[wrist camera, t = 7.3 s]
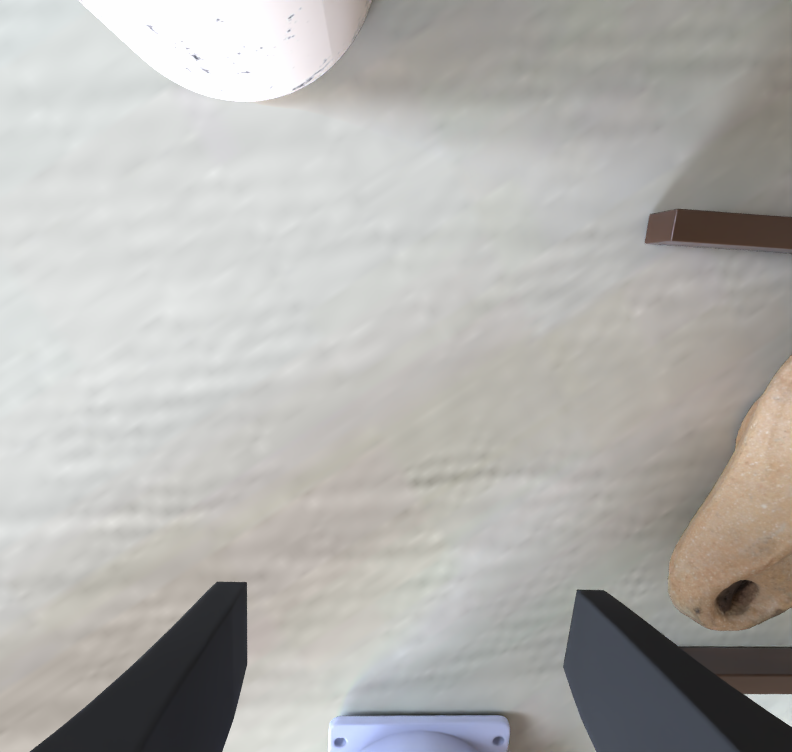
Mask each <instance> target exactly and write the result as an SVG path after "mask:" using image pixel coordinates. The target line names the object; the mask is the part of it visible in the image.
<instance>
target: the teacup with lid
mask: <svg viewBox="0 0 792 752" xmlns="http://www.w3.org/2000/svg"><path fill="white" fill-rule="evenodd" d="M79 1H80V2H81V3H82V4H83V5H84V6H85V7H86V8H87V9H88V10H89V11H91V12H92V13H93V14H94V15H95V16H96V17H97V18H98V19H99V20H100V21H101V22H103V23H104V24H105V25H106V26H107V27H108V28H109V29H110V30H111V31H112V32H113V33H115V34H116V35H117V36H118V37H119V38H120V39H121V40H122V41H123V42H124V43H125V44H127V45H128V46H129V47H130V48H131V49H132V50H133V51H134V52H135V53H136V54H137V55H139V56H140V57H141V58H142V59H143V60H144V61H145V62H147V63H148V64H149V65H150V66H151V67H153V68H154V69H155V70H157V71H158V72H160V73H161V74H162V75H164V76H165V77H167V78H169V79H170V80H172V81H174V82H176V83H177V84H179V85H181V86H183V87H185V88H187V89H190V90H192V91H194V92H197V93H200V94H203V95H205V96H209V97H213V98H217V99H222V100H229V101H241V102H251V101H263V100H268V99H274V98H277V97H281V96H284V95H287V94H290V93H292V92H295V91H297V90H299V89H301V88H303V87H305V86H307V85H308V84H310V83H312V82H313V81H315V80H316V79H318V78H319V77H320V76H322V75H323V74H324V73H325V72H327V71H328V70H329V69H330V68H331V67H332V66H333V65H334V64H335V63H336V62H337V61H338V60H339V59H340V58H341V57H342V56H343V54H344V53H345V52H346V50H347V49H348V48H349V46H350V45H351V44H352V42H353V41H354V39H355V37H356V36H357V34H358V32H359V31H360V29H361V26H362V24H363V22H364V20H365V18H366V16H367V13H368V10H369V8H370V5H371V2H372V0H79Z"/></svg>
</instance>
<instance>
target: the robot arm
mask: <svg viewBox="0 0 792 752" xmlns="http://www.w3.org/2000/svg"><path fill="white" fill-rule="evenodd" d="M246 667H247V582H217V583H215V584H214V585H213V586H212V587H211V588H210V589H209V590H208V591H207V592H206V593H205V594H204V595H203V596H202V597H201V598H200V599H199V600H198V601H197V602H196V603H195V604H194V605H193V606H192V607H191V608H190V609H189V610H188V611H187V612H186V613H185V615H184V616H183V617H182V618H181V619H180V620H179V621H178V622H177V623H176V624H175V625H174V626H173V627H172V628H171V629H170V630H169V631H168V632H167V633H166V634H164V635H163V636H162V637H161V638H160V639H159V640H158V641H157V642H156V643H155V644H154V645H153V646H152V647H151V648H150V649H149V650H148V651H147V652H146V653H145V654H144V655H143V656H142V657H141V658H140V659H138V660H137V661H136V662H135V663H134V664H133V665H132V666H131V667H130V668H129V669H128V670H127V671H125V672H124V673H123V674H122V675H121V676H120V677H119V678H118V679H116V680H115V681H114V682H113V683H112V684H111V685H110V686H109V687H107V688H106V689H105V690H104V691H103V692H102V693H101V694H100V695H98V696H97V697H96V698H95V699H94V700H93V701H92V702H90V703H89V704H88V705H87V706H86V707H85V708H83V709H82V710H81V711H80V712H79V713H77V714H76V715H75V716H74V717H73V718H71V719H70V720H69V721H68V722H67V723H65V724H64V725H63V726H62V727H60V728H59V729H58V730H57V731H56V732H54V733H53V734H52V735H51V736H49V737H48V738H47V739H45V740H44V741H43V742H42V743H40V744H39V745H38V746H36V747H35V748H34V749H33V750H31V751H30V752H222V751H223V748H224V745H225V742H226V739H227V736H228V734H229V731H230V728H231V725H232V722H233V719H234V715H235V711H236V707H237V704H238V700H239V696H240V692H241V687H242V683H243V679H244V675H245V671H246ZM563 668H564V671H565V674H566V677H567V680H568V683H569V686H570V689H571V692H572V695H573V697H574V700H575V703H576V706H577V708H578V711H579V714H580V717H581V719H582V722H583V724H584V726H585V728H586V730H587V732H588V735H589V737H590V739H591V741H592V743H593V745H594V747H595V750H596V752H792V727H791V726H789V725H788V724H786V723H785V722H783V721H782V720H780V719H779V718H777V717H776V716H774V715H773V714H771V713H770V712H768V711H767V710H765V709H764V708H762V707H761V706H759V705H758V704H757V703H755V702H754V701H752V700H751V699H749V698H748V697H747V696H745V695H744V694H742V693H741V692H739V691H738V690H737V689H735V688H734V687H732V686H731V685H729V684H728V683H727V682H725V681H724V680H723V679H721V678H720V677H718V676H717V675H716V674H714V673H713V672H712V671H710V670H709V669H707V668H706V667H705V666H703V665H702V664H701V663H699V662H698V661H697V660H695V659H694V658H693V657H691V656H690V655H689V654H687V653H686V652H685V651H683V650H682V649H681V648H680V647H678V646H677V645H676V644H674V643H673V642H672V641H670V640H669V639H668V638H666V637H665V636H664V635H663V634H661V633H660V632H659V631H657V630H656V629H655V628H654V627H652V626H651V625H650V624H648V623H647V622H646V621H644V620H643V619H642V618H641V617H639V616H638V615H637V614H635V613H634V612H633V611H631V610H630V609H629V608H628V607H626V606H625V605H624V604H622V603H621V602H619V601H618V600H617V599H615V598H614V597H613V596H611V595H610V594H608V593H607V592H605V591H604V590H577V593H576V598H575V604H574V609H573V615H572V621H571V626H570V632H569V637H568V643H567V649H566V654H565V660H564V665H563ZM510 732H511V730H510V725H509V722H508V720H507V718H505V717H504V716H500V715H449V716H338V717H336V718H334V719H333V720H332V721H331V722H330V726H329V745H328V752H508V745H509V738H510ZM340 737H341V738H340Z"/></svg>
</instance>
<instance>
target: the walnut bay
mask: <svg viewBox="0 0 792 752" xmlns="http://www.w3.org/2000/svg"><path fill="white" fill-rule="evenodd" d="M645 243H646V244H659V245H674V246H689V247H704V248H718V249H733V250H748V251H763V252H777V253H792V217H783V216H770V215H756V214H742V213H729V212H715V211H702V210H688V209H674V210H669V211H664V212H658V213H653V214H650V216H649V221H648V227H647V233H646V239H645ZM680 648H681V649H682V650H683V651H685V652H686V653H687V654H689V655H690V656H691V657H693V658H694V659H695V660H697V661H698V662H699V663H701V664H702V665H703V666H705V667H706V668H707V669H709V670H710V671H712V672H713V673H714V674H716V675H717V676H718V677H720V678H721V679H723V680H724V681H725V682H727V683H728V684H729V685H731V686H732V687H734V688H735V689H737V690H738V691H739V692H741V693H742V694H792V648H718V647H680Z"/></svg>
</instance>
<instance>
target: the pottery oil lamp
mask: <svg viewBox="0 0 792 752" xmlns="http://www.w3.org/2000/svg"><path fill="white" fill-rule="evenodd" d="M735 449H736V450H735V451H734V453H733V455H732V456H731V458H730V460H729V462H728V464H727V466H726V467H725V469H724V470H723V472H722V474H721V476H720V477H719V479H718V480H717V482H716V484H715V485H714V487H713V489H712V490H711V492H710V493H709V495H708V496H707V498H706V500H705V501H704V502H703V504H702V505H701V507H700V508H699V510H698V511H697V512H696V514H695V516H694V517H693V518H692V520H691V521H690V523H689V525H688V527H687V528H686V530H685V531H684V533H683V534H682V536H681V537H680V539H679V541H678V543H677V544H676V546H675V549H674V551H673V553H672V556H671V559H670V563H669V576H668V592H669V595H670V598H671V600H672V602H673V604H674V605H675V607H676V608H677V609H678V610H679V611H680V612H681V613H683V614H685V615H686V616H688V617H690V618H691V619H693V620H694V621H695V622H697V623H699V624H700V625H702V626H704V627H706V628H708V629H712V630H718V631H727V630H728V631H738V630H744V629H748V628H751V627H753V626H756V625H757V624H760V623H762V622H764V621H766V620H768V619H770V618H772V617H775V616H777V615H779V614H781V613H783V612H785V611H786V610H787V609H789V608H791V607H792V355H791V356H790V357H789V358H788V359H787V361H786V362H785V363H784V364H783V365H782V366H781V367H780V369H779V370H778V371H777V372H776V374H775V375H774V377H773V378H772V380H771V381H770V383H769V385H768V386H767V388H766V390H765V392H764V393H763V394H762V395H761V397H760V398H759V399H758V400H757V401H756V402H755V403H754V404H753V405H752V407H751V408H750V410H749V411H748V413H747V415H746V416H745V418H744V420H743V421H742V424H741V427H740V429H739V431H738V435H737V438H736V446H735Z"/></svg>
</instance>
